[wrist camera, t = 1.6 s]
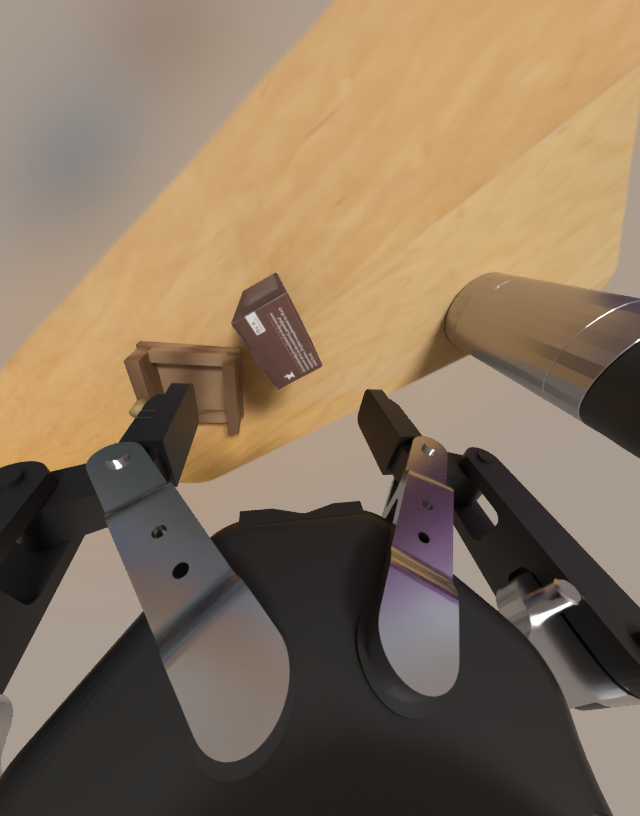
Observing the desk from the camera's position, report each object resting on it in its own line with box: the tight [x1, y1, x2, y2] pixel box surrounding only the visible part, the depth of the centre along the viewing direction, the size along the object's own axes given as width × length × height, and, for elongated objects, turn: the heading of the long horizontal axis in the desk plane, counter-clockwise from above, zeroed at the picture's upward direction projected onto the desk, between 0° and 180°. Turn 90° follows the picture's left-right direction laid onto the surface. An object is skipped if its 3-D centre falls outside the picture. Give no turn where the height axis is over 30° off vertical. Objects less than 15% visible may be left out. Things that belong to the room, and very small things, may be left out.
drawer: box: [124, 341, 244, 434], centre depth 27 cm, size 10×10×6 cm
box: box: [231, 273, 322, 389], centre depth 21 cm, size 6×4×12 cm
